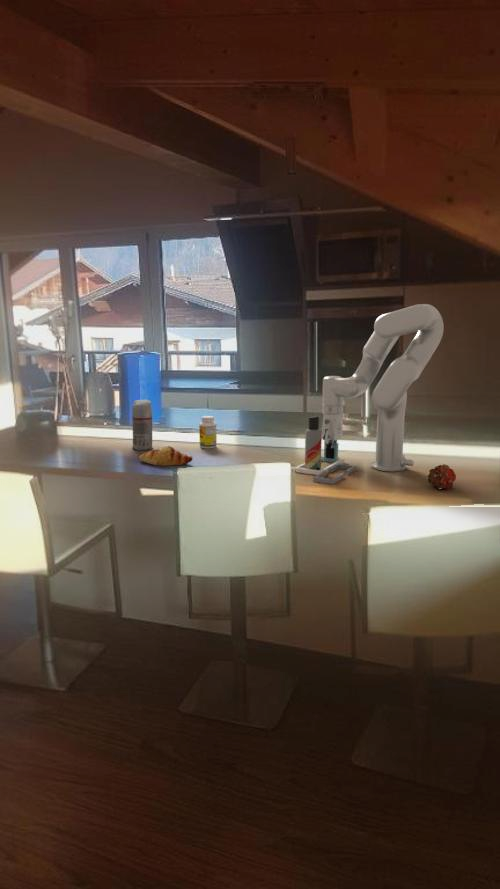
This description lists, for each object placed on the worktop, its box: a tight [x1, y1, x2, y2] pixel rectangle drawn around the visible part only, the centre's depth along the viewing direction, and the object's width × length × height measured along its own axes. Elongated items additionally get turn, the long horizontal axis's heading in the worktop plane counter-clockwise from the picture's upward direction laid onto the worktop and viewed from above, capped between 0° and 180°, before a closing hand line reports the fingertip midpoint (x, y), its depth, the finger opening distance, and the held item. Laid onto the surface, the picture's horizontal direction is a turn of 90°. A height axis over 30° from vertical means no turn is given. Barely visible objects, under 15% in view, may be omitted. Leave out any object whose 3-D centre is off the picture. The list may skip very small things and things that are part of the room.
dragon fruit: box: [427, 463, 457, 489], centre depth 218 cm, size 8×8×12 cm
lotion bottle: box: [304, 415, 323, 470], centre depth 237 cm, size 6×6×20 cm
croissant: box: [138, 445, 193, 467], centre depth 250 cm, size 21×10×8 cm
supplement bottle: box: [199, 415, 217, 450], centre depth 277 cm, size 7×7×13 cm
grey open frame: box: [313, 463, 357, 485], centre depth 234 cm, size 7×22×2 cm, turn 152°
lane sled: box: [294, 442, 346, 476], centre depth 245 cm, size 10×22×7 cm, turn 152°
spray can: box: [131, 398, 153, 451], centre depth 274 cm, size 8×8×20 cm
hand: (331, 457), depth 254 cm, fingers closed on lane sled
